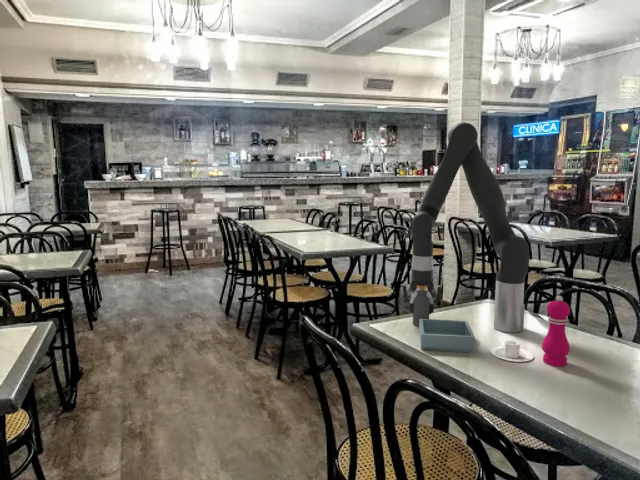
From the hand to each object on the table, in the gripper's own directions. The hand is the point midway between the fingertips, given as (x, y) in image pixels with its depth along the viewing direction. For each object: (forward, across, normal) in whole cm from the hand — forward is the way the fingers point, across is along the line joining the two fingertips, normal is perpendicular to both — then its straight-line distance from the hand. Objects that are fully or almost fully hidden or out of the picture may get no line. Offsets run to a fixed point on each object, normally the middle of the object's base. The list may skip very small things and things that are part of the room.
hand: (421, 313), depth 172 cm
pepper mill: (+5, +37, -29) cm, 47 cm away
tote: (+4, +7, -17) cm, 19 cm away
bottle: (+5, 0, 0) cm, 5 cm away
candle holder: (+5, +26, -25) cm, 36 cm away
